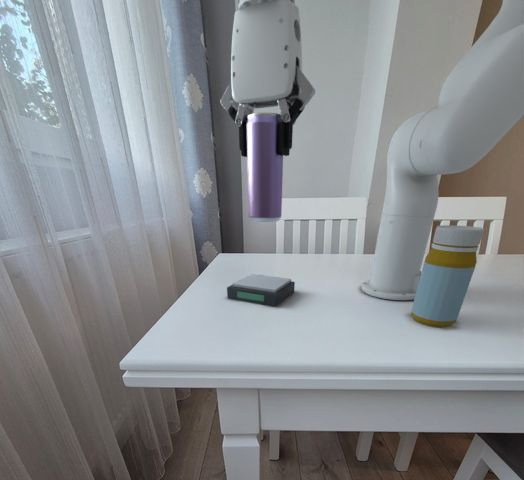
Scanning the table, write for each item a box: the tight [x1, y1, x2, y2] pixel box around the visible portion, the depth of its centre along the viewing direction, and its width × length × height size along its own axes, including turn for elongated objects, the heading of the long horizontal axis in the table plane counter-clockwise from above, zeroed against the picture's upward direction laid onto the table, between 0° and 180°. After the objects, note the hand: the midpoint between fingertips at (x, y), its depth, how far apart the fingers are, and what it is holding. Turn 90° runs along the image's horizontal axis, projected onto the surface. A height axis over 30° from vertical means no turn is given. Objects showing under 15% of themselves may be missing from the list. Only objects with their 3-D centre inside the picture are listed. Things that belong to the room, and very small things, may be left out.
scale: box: [226, 273, 296, 308], centre depth 62 cm, size 11×10×3 cm
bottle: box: [410, 224, 485, 328], centre depth 47 cm, size 7×7×15 cm
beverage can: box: [246, 111, 284, 223], centre depth 50 cm, size 6×6×15 cm
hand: (265, 154), depth 48 cm, fingers closed on beverage can, 6 cm apart
